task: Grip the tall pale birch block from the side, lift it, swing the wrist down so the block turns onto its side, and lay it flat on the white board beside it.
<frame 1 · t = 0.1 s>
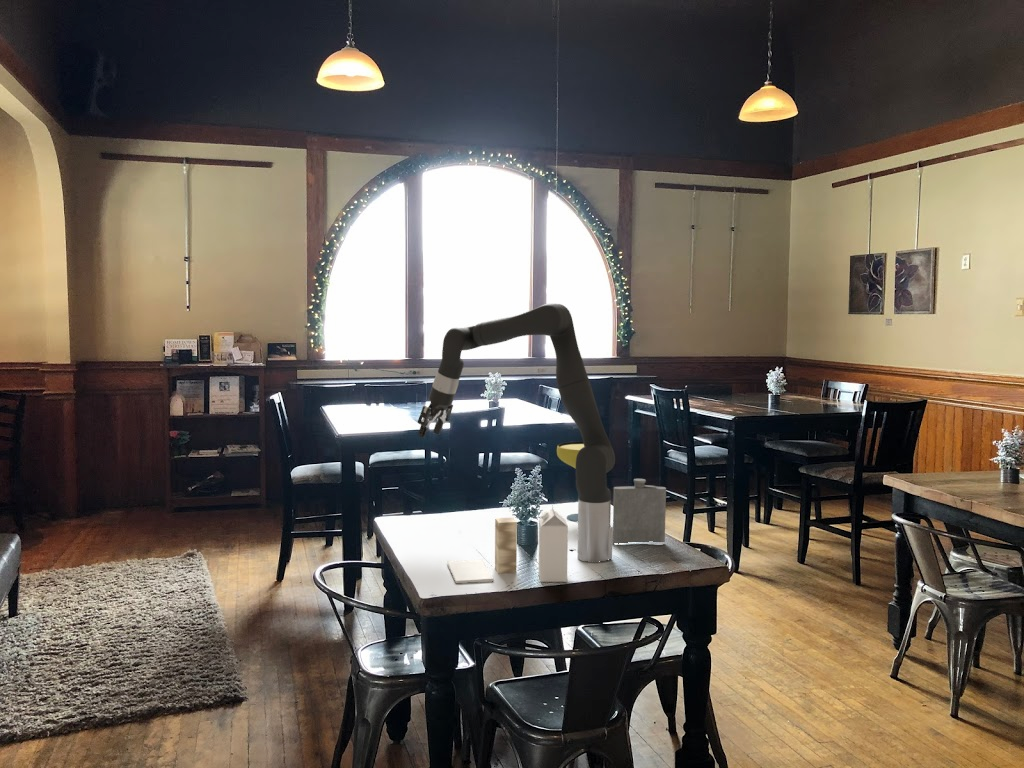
hand: (428, 434, 268), 31 cm above the table, tool tilted 20°, fingers open, 8 cm apart
hip flask: (638, 544, 260), on the table
white board: (469, 572, 231), on the table
birch block: (505, 570, 233), on the table
milk carton: (552, 578, 227), on the table
cocktail glass: (582, 518, 291), on the table
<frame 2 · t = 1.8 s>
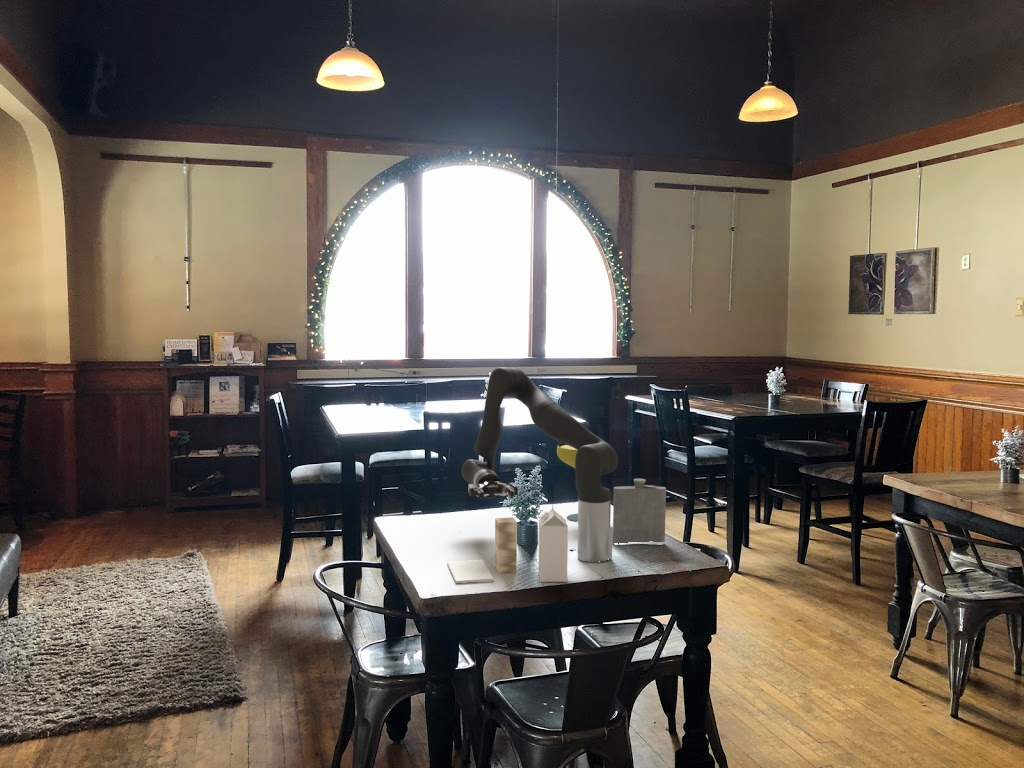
hand: (497, 495, 243), 18 cm above the table, tool horizontal, fingers open, 8 cm apart
nothing on the table moved.
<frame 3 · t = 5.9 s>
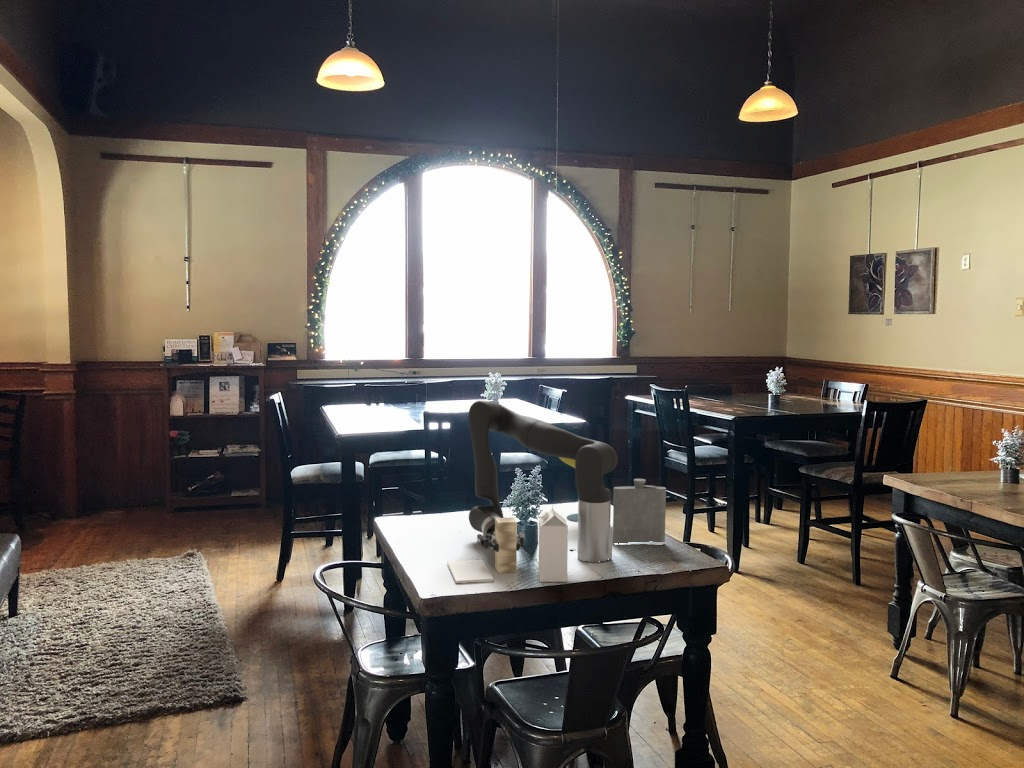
hand: (507, 547, 230), 7 cm above the table, tool horizontal, fingers closed on birch block, 5 cm apart
birch block: (505, 570, 233), on the table, touching gripper
everything else where it was.
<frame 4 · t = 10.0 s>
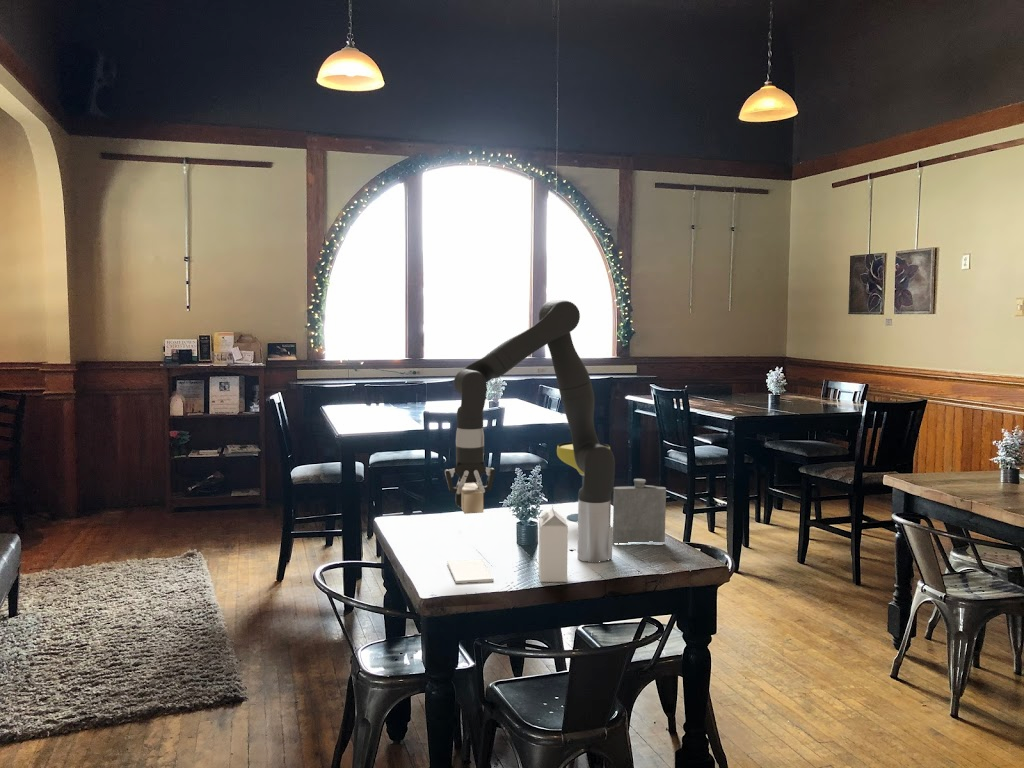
hand: (470, 506, 229), 18 cm above the table, tool pointing down, fingers closed on birch block, 5 cm apart
birch block: (466, 491, 236), point 21 cm above the table, tilted 90°, touching gripper
everything else where it was.
when the fingers open (2 cm above the table, at t = 13.9 s): birch block drops 1 cm, resting on white board.
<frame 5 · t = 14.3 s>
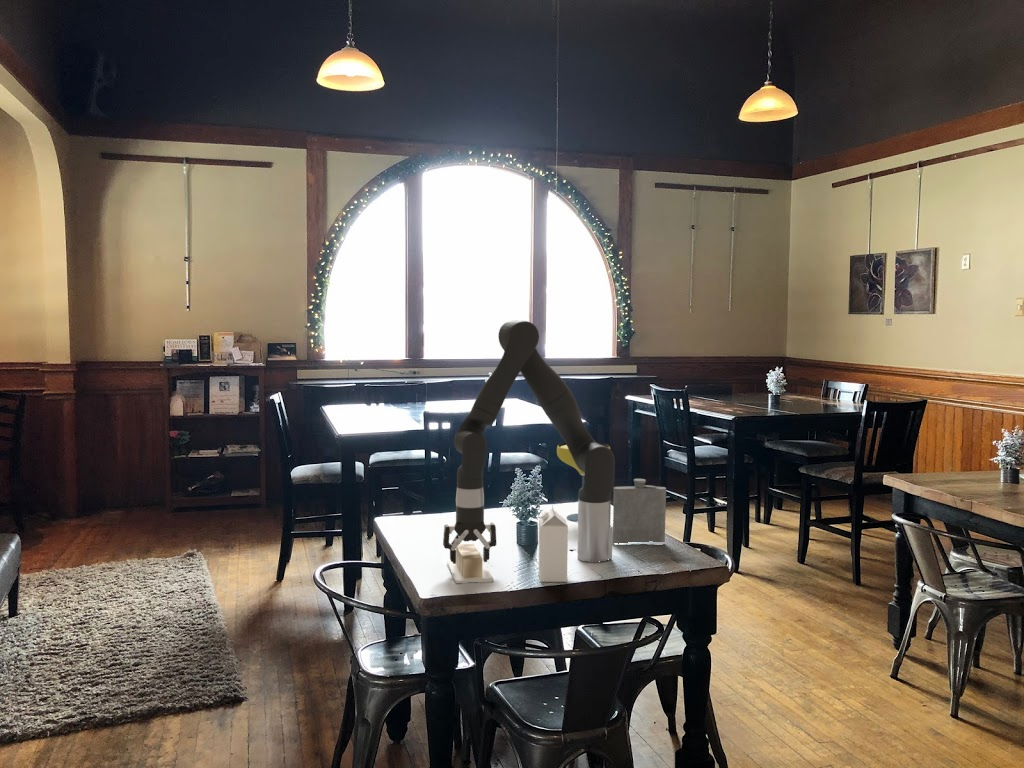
hand: (469, 562, 231), 3 cm above the table, tool pointing down, fingers open, 8 cm apart
birch block: (464, 553, 238), point 3 cm above the table, tilted 90°, touching white board
everything else where it was.
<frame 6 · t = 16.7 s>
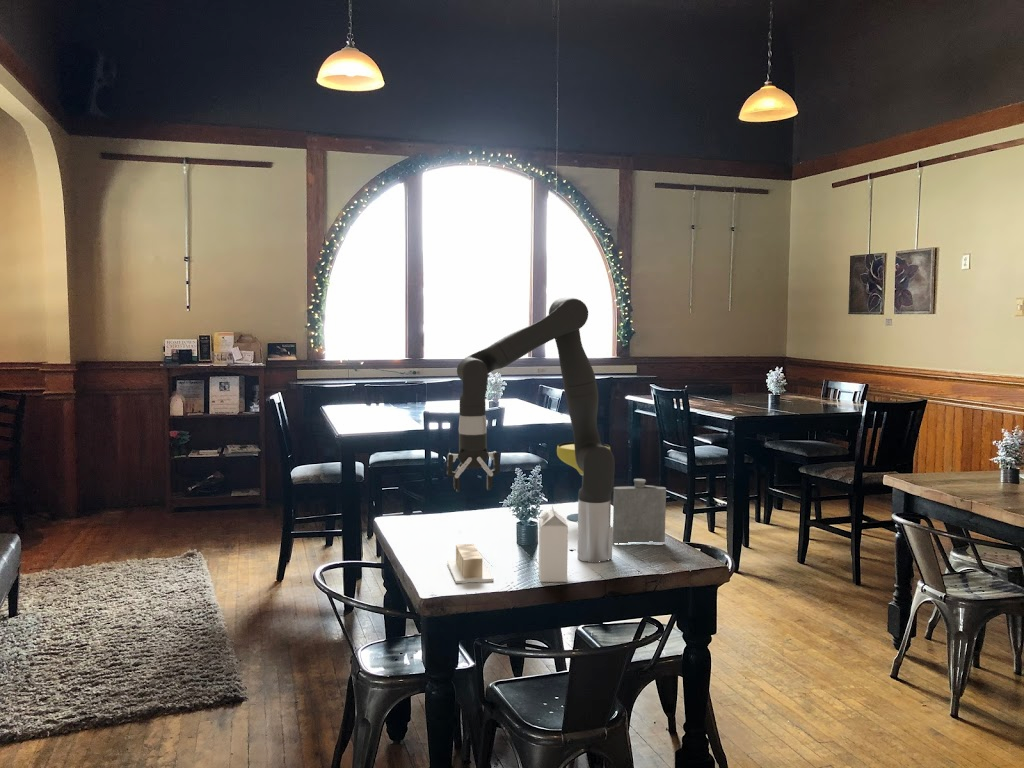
hand: (473, 490, 232), 22 cm above the table, tool pointing down, fingers open, 8 cm apart
nothing on the table moved.
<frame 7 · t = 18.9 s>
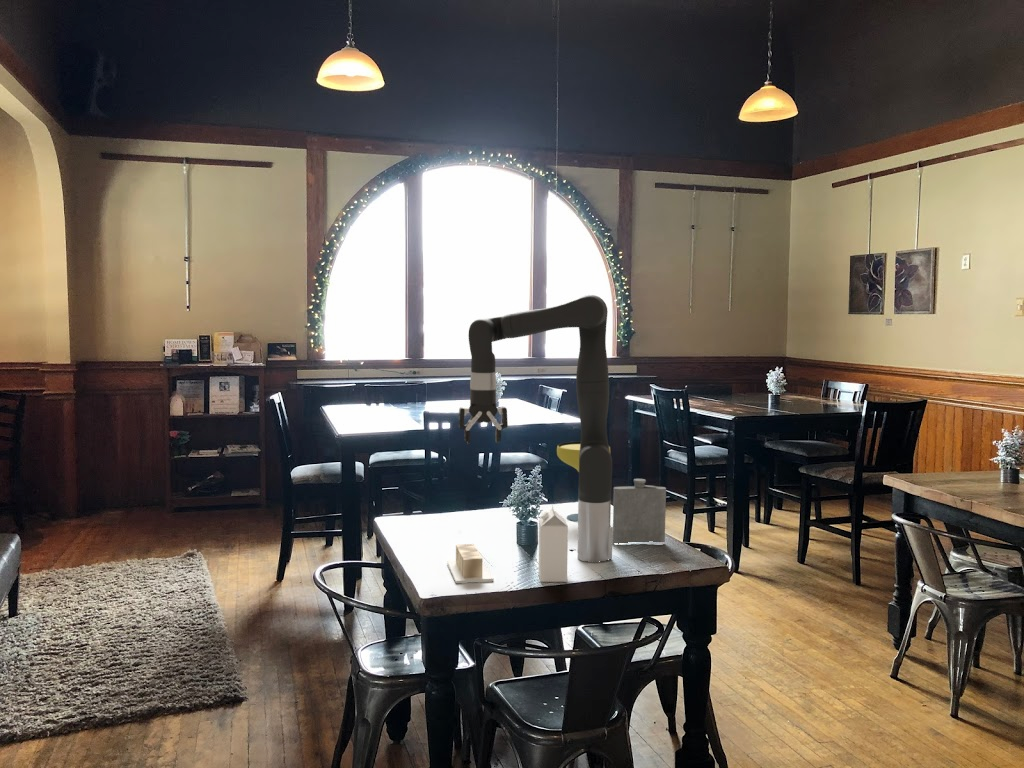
hand: (482, 442, 249), 32 cm above the table, tool pointing down, fingers open, 8 cm apart
nothing on the table moved.
at the end: birch block tilted 90°; birch block inside the target area (7.2 cm from its centre), point 3.3 cm above the table; the gripper is holding nothing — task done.
